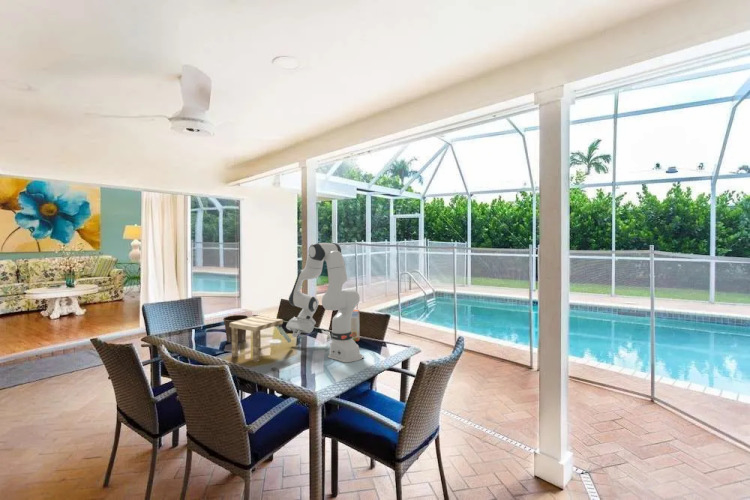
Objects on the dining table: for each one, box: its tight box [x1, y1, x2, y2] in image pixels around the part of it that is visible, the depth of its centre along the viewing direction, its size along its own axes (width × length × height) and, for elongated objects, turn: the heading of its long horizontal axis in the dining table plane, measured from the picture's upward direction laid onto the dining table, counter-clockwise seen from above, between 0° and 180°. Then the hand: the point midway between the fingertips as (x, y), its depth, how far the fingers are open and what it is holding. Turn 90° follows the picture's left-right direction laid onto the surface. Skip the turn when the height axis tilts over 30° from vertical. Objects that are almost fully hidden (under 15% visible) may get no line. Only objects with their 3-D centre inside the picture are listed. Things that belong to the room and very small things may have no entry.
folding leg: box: [275, 325, 292, 343], centre depth 237 cm, size 2×2×17 cm
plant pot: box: [222, 314, 249, 344], centre depth 260 cm, size 16×16×16 cm
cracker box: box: [350, 309, 361, 342], centre depth 260 cm, size 14×6×21 cm, turn 84°
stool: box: [229, 315, 284, 363], centre depth 230 cm, size 22×22×20 cm
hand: (294, 336), depth 246 cm, fingers closed
